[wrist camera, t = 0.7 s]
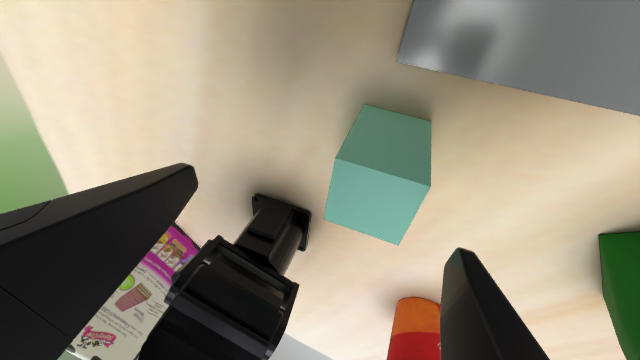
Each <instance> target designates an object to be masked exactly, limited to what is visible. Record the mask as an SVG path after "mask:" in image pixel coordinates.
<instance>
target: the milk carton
mask: <svg viewBox="0 0 640 360" xmlns="http://www.w3.org/2000/svg"><path fill="white" fill-rule="evenodd" d="M599 246H600V259H601V272H602V285H603V297H604V300H605V302H606V305H607V308H608V311H609V314H610V317H611V319H612V323H613V326H614V329H615V332H616V335H617V338H618V341H619V344H620V346H621V349H622V351H623V353H624V355H625V357H626V359H627V360H640V232H629V233H617V234H605V235H599Z"/></svg>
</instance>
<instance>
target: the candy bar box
mask: <svg viewBox="0 0 640 360" xmlns="http://www.w3.org/2000/svg"><path fill="white" fill-rule="evenodd" d="M199 250H200V248H199V247H198V246H197V245H196V244H195V243H194V242H193V241H192V240H191V239H190V238H189V237H188V236H187V235H186V234H185V233H184V232H183V231H181V230H180V229H179V228H178V227H177V226H176V225H175V224H174V223H173V224H172V225H171V226H170V228H169V229H168V230H167V231H166V232H165V234H164V235H163V236H162V237H161V238H160V239H159V241H158V242H157V243H156V244H155V245H154V246H153V248H152V249H151V250H150V251H149V252H148V253H147V255H146V256H145V257H144V258H143V259H142V260H141V262H140V263H139V264H138V265H137V266H136V268H135V269H134V270H133V271H132V272H131V273H130V275H129V276H128V277H127V278H126V279H125V280H124V282H123V283H122V284H121V285H120V286H119V287H118V289H117V290H116V291H115V292H114V293H113V294H112V296H111V297H110V298H109V299H108V300H107V302H106V303H105V304H104V305H103V306H102V307H101V309H100V310H99V311H98V312H97V313H96V314H95V316H94V317H93V318H92V319H91V320H90V321H89V323H88V324H87V325H86V326H85V327H84V328H83V330H82V331H81V332H80V333H79V334H78V335H77V337H76V338H75V339H73V342H72V343H71V344H70V345H69V346H68V347H67V349H66V351H68V352H70V353H71V354H73V355H75V356H77V357H79V358H81V359H83V360H136V359H137V358H138V357H139V354H140V350H141V347H142V345H143V343H144V342H145V341H146V339H147V336H148V335H149V333H150V331H151V330H152V329H153V327H154V326H155V324H156V323H157V322H158V320H159V319H160V317H161V316H162V315H163V313H164V312H165V310H166V309H167V308H168V306H169V305H167V304H166V303H164V299H165V297H166V295H167V293H168V291H169V288H170V287H171V276H172V275H173V274H174V272H175V271H177V270H178V269H179V268H180V267H181V266H183V265H184V264H185V263H186V262H187V261H188V260H190V259H191V258H192V257H193V256H194V255H195V254H196V253H197V252H198V251H199Z"/></svg>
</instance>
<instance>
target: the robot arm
mask: <svg viewBox="0 0 640 360" xmlns="http://www.w3.org/2000/svg"><path fill="white" fill-rule="evenodd" d="M197 188H198V180H197V177H196V173H195V169H194V167H193V166H191V165H188V164H185V163H178V164H175V165H171V166H168V167H164V168H161V169H157V170H154V171H150V172H147V173H143V174H140V175H136V176H133V177H129V178H126V179H122V180H119V181H115V182H112V183H109V184H105V185H102V186H98V187H95V188H91V189H88V190H84V191H81V192H77V193H74V194H70V195H67V196H63V197H60V198H56V199H53V200H52V201H51V200H49V201H46V202H42V203H39V204H35V205H32V206H28V207H24V208H21V209H17V210H14V211H10V212H6V213H2V214H0V360H57V359H58V358H59V357H60V356H61V355H62V353H63V352H64V351H65V350H66V349H67V347H68V346H69V345H70V344H71V343H72V342H73V339H75V338H76V337H77V335H78V334H79V333H80V332H81V331H82V330H83V328H84V327H85V326H86V325H87V324H88V323H89V321H90V320H91V319H92V318H93V317H94V316H95V314H96V313H97V312H98V311H99V310H100V309H101V307H102V306H103V305H104V304H105V303H106V302H107V300H108V299H109V298H110V297H111V296H112V294H113V293H114V292H115V291H116V290H117V289H118V287H119V286H120V285H121V284H122V283H123V282H124V280H125V279H126V278H127V277H128V276H129V275H130V273H131V272H132V271H133V270H134V269H135V268H136V266H137V265H138V264H139V263H140V262H141V260H142V259H143V258H144V257H145V256H146V255H147V253H148V252H149V251H150V250H151V249H152V248H153V246H154V245H155V244H156V243H157V242H158V241H159V239H160V238H161V237H162V236H163V235H164V234H165V232H166V231H167V230H168V229H169V228H170V226H171V225H172V224H173V223H174V221H175V220H176V219H177V217H178V216H179V214H180V213H181V212H182V210H183V209H184V207H185V206H186V204H187V203H188V201H189V200H190V199H191V197H192V196H193V194H194V193H195V191H196V190H197ZM252 204H253V218H252V219H251V221H250V222H249V223H248V225H247V226H246V227H245V229H244V230H243V231H242V233H241V234H240V235H239V237H238V238H237V239H236V241H235V242H234V243H233V244H231V243H229V242H228V241H226V240H224V239H223V237H222V236H220V235H218V236H217V237H216V238H215V239H214V240H208V241H207V242H206V243H205V245H204V246H203V247H202V248H201V249H200V250H199V251H198V252H197V253H196V254H195V255H194V256H193V257H192V258H191V259H190V260H188V261H187V262H186V263H185V264H184V265H183V266H181V267H180V268H179V269H178V270H177V271H175V272H174V274H173V275H172V276H171V287H170V288H169V291H168V293H167V295H166V297H165V299H164V303H166V304H167V305H169V306H168V308H167V309H166V310H165V312H164V313H163V315H162V316H161V317H160V319H159V320H158V322H157V323H156V324H155V326H154V327H153V329H152V330H151V331H150V333H149V335H148V336H147V339H146V341H145V342H144V343H143V345H142V347H141V350H140V354H139V358H138V360H268V359H269V358H270V357H271V355H272V354H273V352H274V351H275V349H276V347H277V345H278V344H279V342H280V340H281V338H282V336H283V333H284V331H285V329H286V326H287V323H288V320H289V317H290V314H291V311H292V307H293V304H294V301H295V298H296V295H297V292H298V288H299V284H297V283H296V282H292V281H291V280H289V279H287V278H286V277H284V274H285V272H286V270H287V268H288V266H289V264H290V262H291V260H292V258H293V256H294V254H295V252H296V250H300V251H305V250H306V248H307V242H308V235H309V228H310V221H311V213H310V212H308V211H306V210H303V209H300V208H297V207H294V206H292V205H289V204H286V203H283V202H280V201H277V200H274V199H271V198H269V197H266V196H263V195H260V194H254V196H253V197H252ZM440 350H441V360H550V359H549V358H548V356H547V355H546V354H545V352H544V351H543V349H542V348H541V346H540V345H539V344H538V342H537V341H536V339H535V338H534V337H533V335H532V334H531V332H530V331H529V329H528V328H527V327H526V325H525V324H524V322H523V321H522V319H521V318H520V317H519V315H518V314H517V312H516V311H515V310H514V308H513V307H512V305H511V304H510V302H509V301H508V300H507V298H506V297H505V295H504V294H503V292H502V291H501V290H500V288H499V287H498V285H497V284H496V283H495V281H494V280H493V278H492V277H491V275H490V274H489V273H488V271H487V270H486V268H485V267H484V265H483V264H482V263H481V261H480V260H479V258H478V257H477V256H476V254H475V253H474V252H472V251H470V250H467V249H463V248H457V249H456V250H455V251H454V252H453V254H452V255H451V257H450V258H449V259H448V261H447V262H446V264H445V267H444V274H443V285H442V297H441V308H440Z"/></svg>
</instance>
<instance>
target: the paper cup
mask: <svg viewBox="0 0 640 360" xmlns="http://www.w3.org/2000/svg"><path fill="white" fill-rule="evenodd" d="M440 308H441V306H440V305H439V304H437V303H435V302H433V301H430V300H427V299H423V298H417V297H409V298H404V299H402V300H400V301H399V302H398V304H397V307H396V312H395V317H394V322H393V327H392V333H391V339H390V344H389V350H388V356H387V360H441V350H440Z"/></svg>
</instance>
